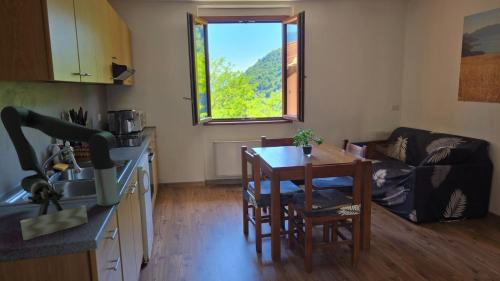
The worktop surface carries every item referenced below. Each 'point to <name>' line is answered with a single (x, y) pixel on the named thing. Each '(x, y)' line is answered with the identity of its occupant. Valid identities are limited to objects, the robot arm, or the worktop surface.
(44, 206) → the phone stand
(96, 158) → the robot arm
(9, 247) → the worktop surface
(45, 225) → the wall board
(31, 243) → the worktop surface
